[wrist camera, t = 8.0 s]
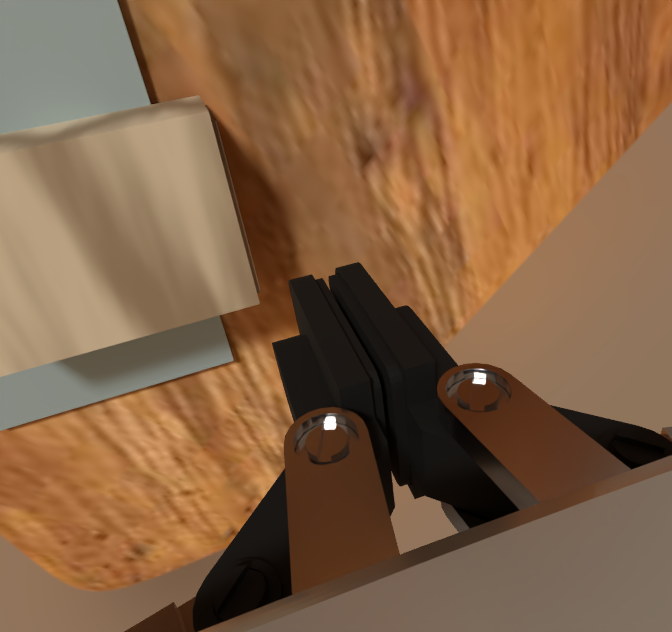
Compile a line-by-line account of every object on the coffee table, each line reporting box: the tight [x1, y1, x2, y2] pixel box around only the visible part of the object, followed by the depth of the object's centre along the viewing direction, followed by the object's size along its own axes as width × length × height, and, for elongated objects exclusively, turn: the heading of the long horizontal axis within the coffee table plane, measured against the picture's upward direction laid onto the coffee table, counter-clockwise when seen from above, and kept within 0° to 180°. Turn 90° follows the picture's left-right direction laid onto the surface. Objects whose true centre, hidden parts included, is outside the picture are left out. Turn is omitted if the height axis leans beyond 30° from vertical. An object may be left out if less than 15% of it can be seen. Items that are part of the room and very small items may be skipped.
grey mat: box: [0, 0, 234, 431], centre depth 22 cm, size 13×20×1 cm, turn 8°
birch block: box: [0, 95, 261, 377], centre depth 20 cm, size 5×8×12 cm
